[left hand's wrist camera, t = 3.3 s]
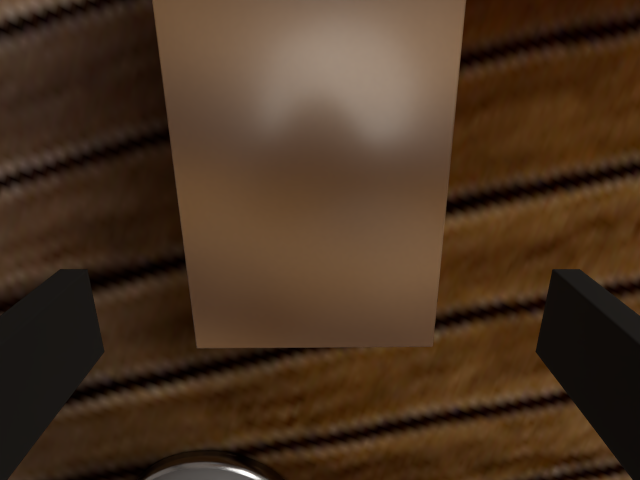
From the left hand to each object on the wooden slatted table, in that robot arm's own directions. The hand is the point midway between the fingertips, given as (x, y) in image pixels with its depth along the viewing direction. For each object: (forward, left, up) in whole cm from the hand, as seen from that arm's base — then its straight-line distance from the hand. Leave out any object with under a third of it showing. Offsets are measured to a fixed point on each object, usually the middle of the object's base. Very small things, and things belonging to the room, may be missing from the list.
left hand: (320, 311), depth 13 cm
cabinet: (+1, +4, -17) cm, 17 cm away
